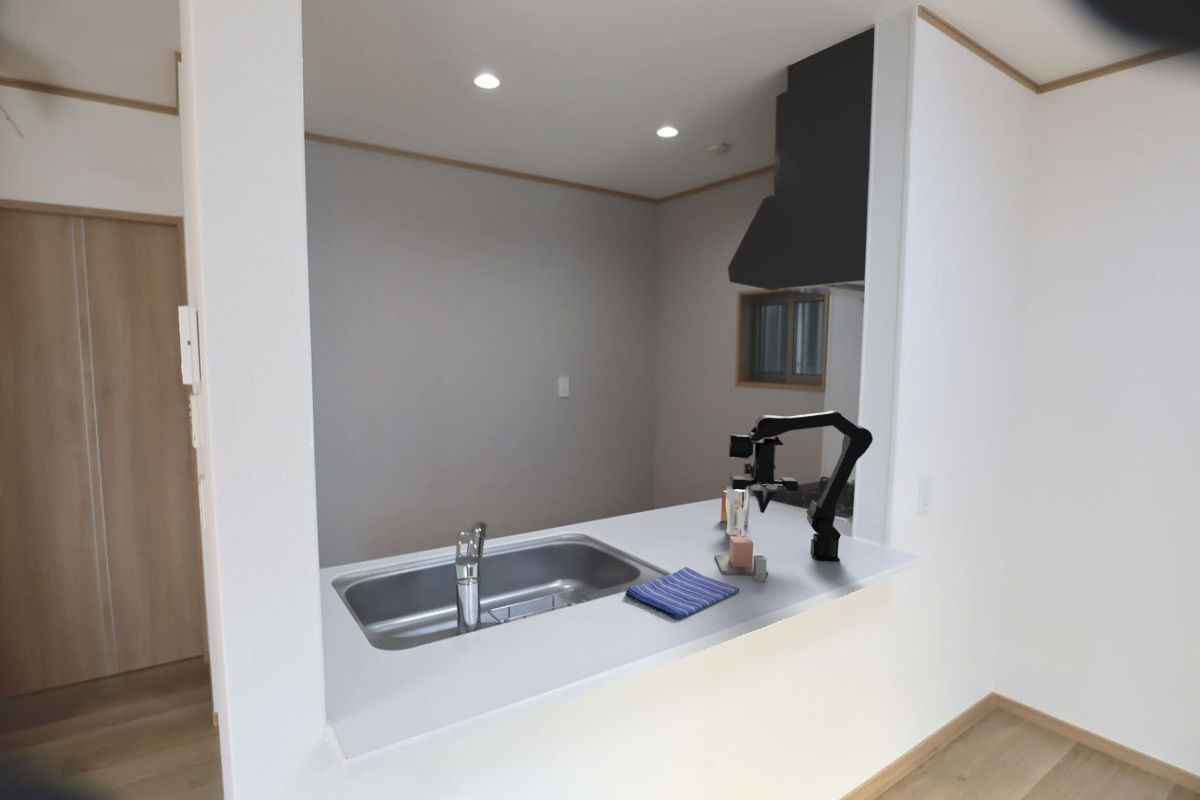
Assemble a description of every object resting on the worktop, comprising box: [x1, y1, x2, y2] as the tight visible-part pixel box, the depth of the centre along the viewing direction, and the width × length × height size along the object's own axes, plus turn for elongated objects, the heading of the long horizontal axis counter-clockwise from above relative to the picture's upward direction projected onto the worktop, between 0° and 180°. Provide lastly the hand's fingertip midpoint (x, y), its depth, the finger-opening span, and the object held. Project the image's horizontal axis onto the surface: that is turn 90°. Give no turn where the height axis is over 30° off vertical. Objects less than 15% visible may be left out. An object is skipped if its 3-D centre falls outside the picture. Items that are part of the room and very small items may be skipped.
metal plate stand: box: [714, 554, 769, 576], centre depth 160 cm, size 12×12×6 cm
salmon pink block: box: [728, 536, 754, 567], centre depth 160 cm, size 5×5×7 cm
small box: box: [720, 489, 751, 527], centre depth 198 cm, size 8×6×10 cm
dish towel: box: [624, 566, 740, 620], centre depth 142 cm, size 17×24×3 cm
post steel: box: [752, 554, 768, 583], centre depth 151 cm, size 3×3×6 cm
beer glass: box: [725, 485, 749, 537], centre depth 186 cm, size 7×7×15 cm
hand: (761, 512), depth 170 cm, fingers closed
